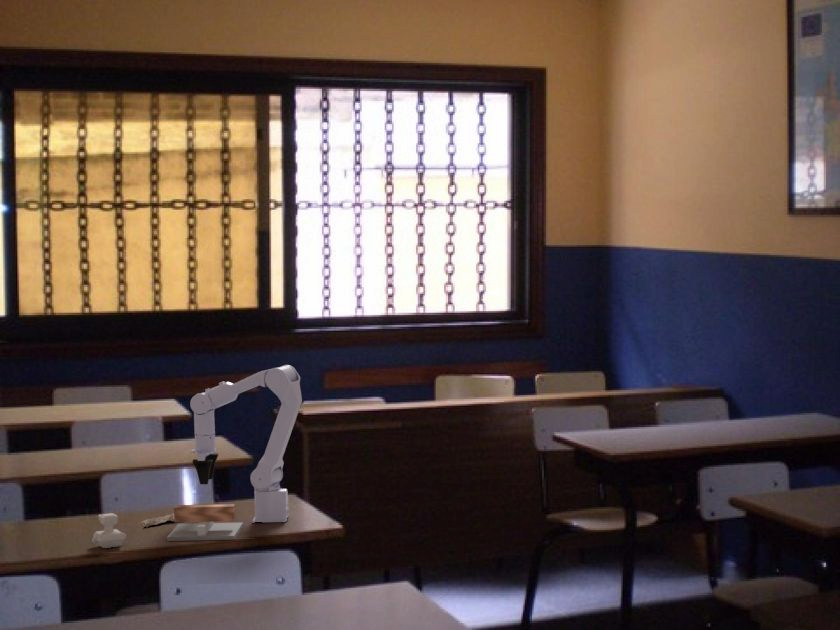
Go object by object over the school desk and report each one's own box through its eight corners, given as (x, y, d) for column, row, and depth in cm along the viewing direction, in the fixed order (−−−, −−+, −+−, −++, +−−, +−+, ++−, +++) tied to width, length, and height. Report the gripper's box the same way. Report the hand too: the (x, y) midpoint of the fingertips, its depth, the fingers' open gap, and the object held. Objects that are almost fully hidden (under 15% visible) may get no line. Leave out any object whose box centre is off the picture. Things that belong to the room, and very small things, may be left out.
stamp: (95, 551, 329) (94, 519, 328) (88, 546, 335) (87, 514, 334) (130, 546, 333) (128, 514, 333) (122, 542, 339) (121, 510, 338)
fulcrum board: (243, 525, 355) (242, 513, 354) (234, 539, 339) (234, 526, 338) (178, 527, 355) (178, 514, 354) (166, 540, 339) (166, 527, 339)
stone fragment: (216, 518, 371) (192, 513, 377) (216, 508, 371) (192, 504, 377) (148, 533, 351) (124, 529, 357) (148, 523, 351) (124, 519, 357)
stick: (235, 518, 348) (234, 504, 348) (233, 521, 345) (233, 506, 345) (176, 519, 348) (176, 505, 348) (174, 522, 345) (174, 507, 345)
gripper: (195, 431, 372) (197, 477, 373) (186, 438, 358) (187, 486, 359) (219, 430, 372) (221, 476, 373) (211, 438, 358) (212, 486, 359)
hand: (206, 481), depth 366 cm, fingers open, 7 cm apart
